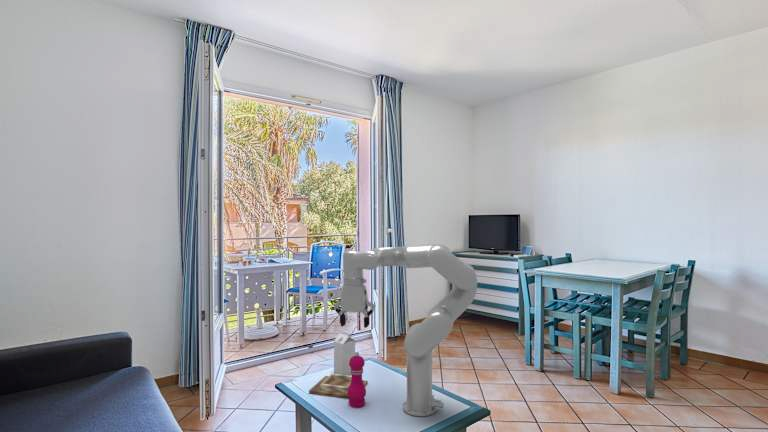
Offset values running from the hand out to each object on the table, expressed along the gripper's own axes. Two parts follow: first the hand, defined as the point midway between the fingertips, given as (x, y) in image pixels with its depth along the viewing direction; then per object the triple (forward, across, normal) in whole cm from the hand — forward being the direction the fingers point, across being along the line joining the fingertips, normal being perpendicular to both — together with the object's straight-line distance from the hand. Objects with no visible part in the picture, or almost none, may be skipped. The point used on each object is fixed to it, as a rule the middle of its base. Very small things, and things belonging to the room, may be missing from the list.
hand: (354, 326), depth 152 cm
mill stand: (+30, +12, -10) cm, 34 cm away
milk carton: (+30, +17, -26) cm, 43 cm away
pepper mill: (+30, 0, 0) cm, 30 cm away
